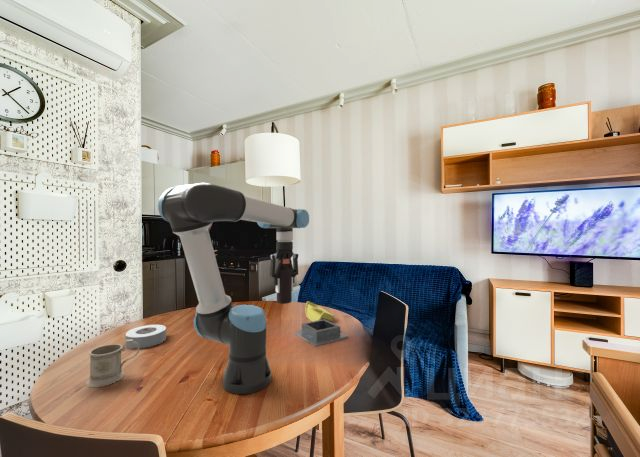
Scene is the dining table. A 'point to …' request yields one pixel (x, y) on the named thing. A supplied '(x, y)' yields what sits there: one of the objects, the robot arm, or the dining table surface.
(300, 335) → the duct collar
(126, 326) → the dining table surface
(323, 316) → the plastic component
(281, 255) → the robot arm
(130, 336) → the tape roll
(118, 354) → the mug
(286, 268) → the vinegar
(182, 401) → the dining table surface
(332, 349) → the dining table surface
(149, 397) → the dining table surface
